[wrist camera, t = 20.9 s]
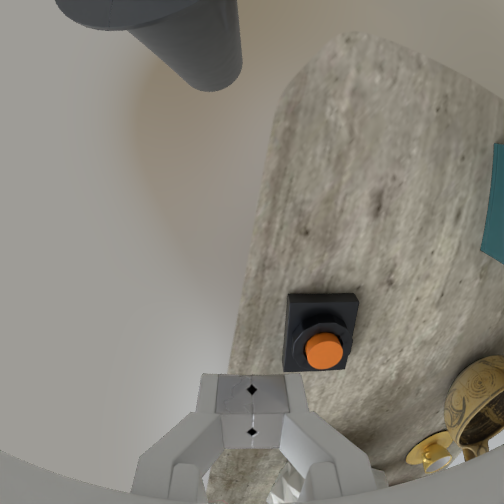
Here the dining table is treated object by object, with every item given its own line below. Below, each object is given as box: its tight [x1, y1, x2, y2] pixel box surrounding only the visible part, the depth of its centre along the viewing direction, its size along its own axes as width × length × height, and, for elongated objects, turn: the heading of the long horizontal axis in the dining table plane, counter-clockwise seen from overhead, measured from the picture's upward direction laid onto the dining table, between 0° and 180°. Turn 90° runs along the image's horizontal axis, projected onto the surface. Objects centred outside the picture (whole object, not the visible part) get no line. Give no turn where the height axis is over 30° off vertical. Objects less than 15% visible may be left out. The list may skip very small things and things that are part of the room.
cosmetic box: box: [372, 468, 389, 489], centre depth 46 cm, size 6×4×12 cm
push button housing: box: [282, 293, 359, 372], centre depth 36 cm, size 10×8×4 cm
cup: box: [406, 431, 453, 473], centre depth 47 cm, size 12×12×5 cm
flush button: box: [305, 332, 343, 369], centre depth 33 cm, size 4×4×2 cm
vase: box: [266, 460, 305, 504], centre depth 39 cm, size 16×16×18 cm
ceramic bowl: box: [444, 355, 504, 462], centre depth 35 cm, size 22×17×15 cm
